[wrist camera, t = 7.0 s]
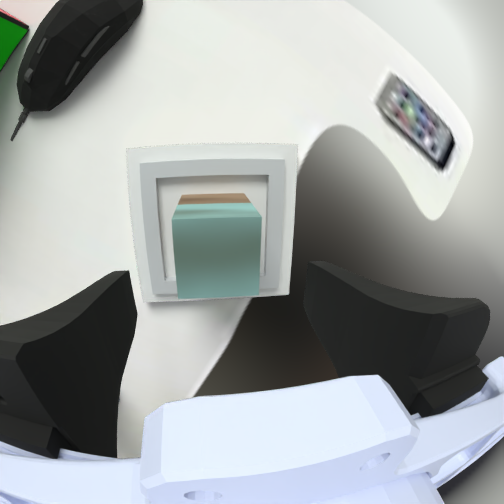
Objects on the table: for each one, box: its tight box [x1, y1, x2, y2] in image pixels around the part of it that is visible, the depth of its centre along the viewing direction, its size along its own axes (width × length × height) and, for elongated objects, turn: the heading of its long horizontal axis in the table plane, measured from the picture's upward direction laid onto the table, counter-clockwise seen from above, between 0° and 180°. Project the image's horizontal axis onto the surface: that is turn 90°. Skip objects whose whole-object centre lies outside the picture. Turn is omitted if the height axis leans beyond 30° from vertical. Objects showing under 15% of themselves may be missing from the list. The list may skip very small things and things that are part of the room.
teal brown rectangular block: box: [171, 193, 262, 299], centre depth 16 cm, size 4×4×6 cm
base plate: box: [126, 143, 298, 302], centre depth 19 cm, size 11×11×2 cm
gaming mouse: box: [11, 0, 143, 141], centre depth 12 cm, size 6×15×4 cm, turn 138°
